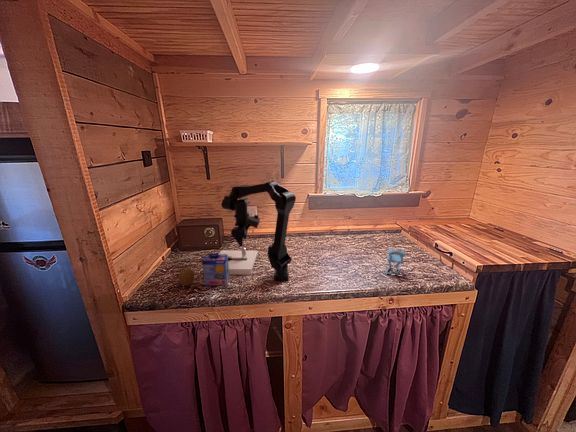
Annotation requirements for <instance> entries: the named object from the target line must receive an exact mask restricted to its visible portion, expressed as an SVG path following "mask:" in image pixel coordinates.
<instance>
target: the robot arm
mask: <svg viewBox="0 0 576 432" xmlns="http://www.w3.org/2000/svg"><path fill="white" fill-rule="evenodd" d="M261 193H262V194H263V193H268V195H269V197H270V199H271V200H272V201H274V207H275V210H276V212H277V215H276V224H275V230H274V239H273V243H272V244H269V245H268V248H267V253H266V255H267V258H268V260H269V263H270V266H271V268H272V269H274V276H273V281H274V282H288V281H289V279H290V278H289V277H290V276H289V275H290V272H289V271H288V270H289V268H288V265H289V264H290V263H291V262H292V261H293V259H292V258H291V256H290V254H289V253H288V248H287V245H286V236H287V230H288V223H289V219H290V213H291V211H292V210H293V208H294V206H295V203H296V199H297V197H296V195H295V193H293V191H291V190H289V189H287V187H285V186H283V185H280V184H279V183H278V182H277V181H274V180H273V181H272V180H271V181H267V182H264V183H259V184H254V185H248V184H242V185H236V186H232V188H231V192H230V193H229V195H224V196H223V199H222V201H221V205H220V206H221V207H222V209H224V210H228V211H232V212H234V215H233V216H234V218H235V223H234V227H233V228H232V229H231V231H230V234H231V236H232V237H233V238H234V239H235V241H236V242H237V243H238V244H237V245H239V247H241V248H242V247H243V245H244V240H247V237H248V231H249V228H250V227H253V228H255V229H257V228H258V227H259V224H260V221H261V220H260V218H259V215H258V214H255V215H252V216H250V213H249V212H248V205H249V204H251V203H252V202H251V201H250V200H249V199H248V198H247V197H249V196H251V195H255V194H261Z"/></svg>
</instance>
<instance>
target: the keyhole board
mask: <svg viewBox="0 0 576 432" xmlns="http://www.w3.org/2000/svg"><path fill="white" fill-rule="evenodd" d="M220 254H227V255H228V259H231V260H228V266H229V275H244V276H246V275H247V276H248V275H253V268H254V264H255V261H256V259H257V257H259V251H258V250H246V261H243V260H242V250H234V249H233V250H225V249H223V250H222V249H221V251H220V252H219V253H218V255H220Z"/></svg>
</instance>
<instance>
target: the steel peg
mask: <svg viewBox="0 0 576 432" xmlns="http://www.w3.org/2000/svg"><path fill="white" fill-rule="evenodd" d="M241 251H242V259H241V260H243V261H246V251H247V248H246V246H242V247H241Z"/></svg>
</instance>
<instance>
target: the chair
mask: <svg viewBox="0 0 576 432" xmlns="http://www.w3.org/2000/svg"><path fill="white" fill-rule="evenodd" d="M405 254H406V250H404V249H400V250H397V249H395V250H393V249H392V247H389V248H388V254H387V261H388V262H387V263H388V265H389V266H388V267H387V268H386V269H385V272H384V274H385V273H387V274H395V275H401V274H402V276H403V277H404V273H403V272H402V271H401V270H400V269H399V266H400V264H401V265H402V264H404V263H405V261H404V257H405ZM391 263H397V264H395V266H394V269H395V268H396V269H397V270H398V271H399V272H400V273H401V274H399V273H395V272H394V273H393V272H390V270H391V269H392V264H391ZM390 268H391V269H390ZM389 269H390V270H389ZM396 269H395V270H396ZM388 270H389V272H388Z"/></svg>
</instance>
